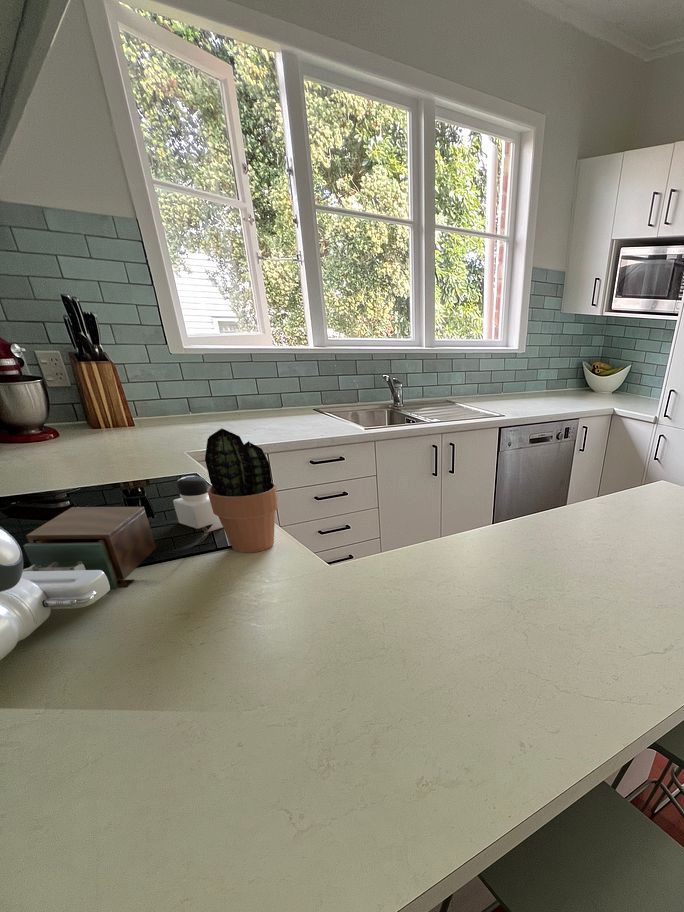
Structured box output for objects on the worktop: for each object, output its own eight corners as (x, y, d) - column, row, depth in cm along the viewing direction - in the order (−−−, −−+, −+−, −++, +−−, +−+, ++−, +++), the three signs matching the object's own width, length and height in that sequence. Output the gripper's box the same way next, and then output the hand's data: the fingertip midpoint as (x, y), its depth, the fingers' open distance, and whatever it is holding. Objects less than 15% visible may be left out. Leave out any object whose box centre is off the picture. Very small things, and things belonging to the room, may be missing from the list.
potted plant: (274, 558, 116) (252, 436, 103) (210, 556, 116) (180, 434, 103) (292, 535, 128) (274, 423, 115) (233, 533, 128) (209, 420, 114)
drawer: (104, 601, 96) (86, 555, 91) (28, 603, 94) (6, 556, 90) (147, 558, 112) (134, 517, 107) (82, 559, 111) (66, 517, 106)
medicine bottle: (225, 527, 131) (214, 477, 125) (199, 535, 126) (186, 484, 119) (206, 521, 134) (194, 472, 128) (180, 529, 129) (166, 478, 122)
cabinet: (126, 587, 103) (108, 534, 97) (49, 589, 101) (25, 535, 95) (158, 555, 116) (144, 506, 110) (90, 556, 114) (71, 507, 109)
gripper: (78, 585, 82) (118, 550, 94) (-73, 588, 79) (-12, 552, 91) (92, 621, 85) (129, 583, 97) (-52, 625, 83) (4, 585, 94)
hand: (60, 568), depth 94 cm, fingers closed on drawer, 5 cm apart
